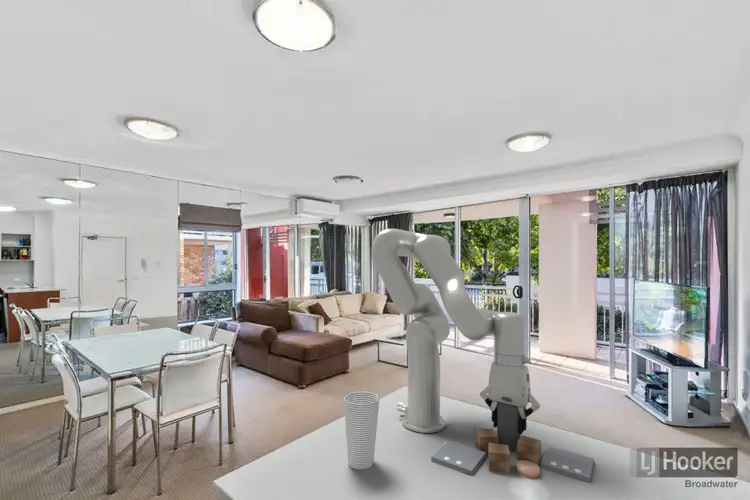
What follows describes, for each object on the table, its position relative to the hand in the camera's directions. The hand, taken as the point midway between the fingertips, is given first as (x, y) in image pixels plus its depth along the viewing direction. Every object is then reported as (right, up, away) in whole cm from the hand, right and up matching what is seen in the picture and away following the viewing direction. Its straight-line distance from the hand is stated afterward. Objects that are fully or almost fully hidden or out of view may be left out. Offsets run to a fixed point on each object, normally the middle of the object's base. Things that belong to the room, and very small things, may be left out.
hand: (508, 428), depth 97 cm
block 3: (+3, -5, -7) cm, 9 cm away
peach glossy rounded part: (0, -4, -12) cm, 13 cm away
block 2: (-6, -4, -11) cm, 13 cm away
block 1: (-7, -5, -3) cm, 8 cm away
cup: (-39, -4, -10) cm, 40 cm away
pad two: (-15, -4, -7) cm, 17 cm away
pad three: (+11, -4, -9) cm, 15 cm away
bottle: (0, -5, 0) cm, 5 cm away
